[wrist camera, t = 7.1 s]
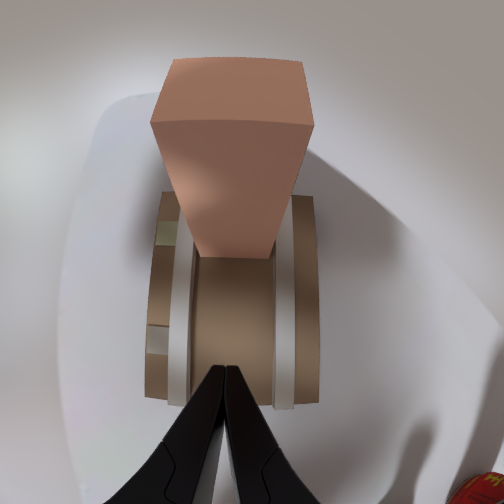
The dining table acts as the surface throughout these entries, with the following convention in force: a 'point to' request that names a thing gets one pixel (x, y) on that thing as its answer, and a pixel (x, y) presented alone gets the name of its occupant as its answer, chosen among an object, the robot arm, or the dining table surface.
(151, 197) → the dining table surface
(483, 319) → the dining table surface
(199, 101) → the slider tab
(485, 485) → the soda can
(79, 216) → the dining table surface
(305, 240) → the wooden rail base
